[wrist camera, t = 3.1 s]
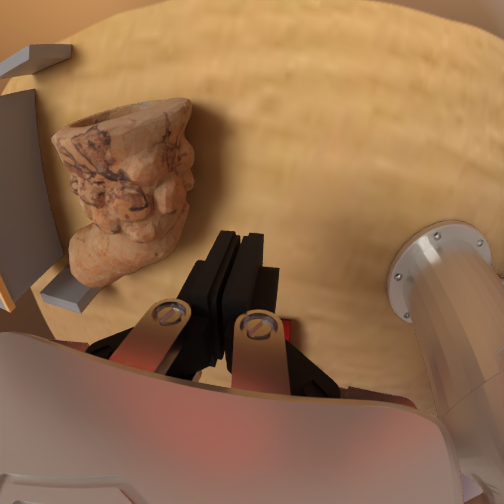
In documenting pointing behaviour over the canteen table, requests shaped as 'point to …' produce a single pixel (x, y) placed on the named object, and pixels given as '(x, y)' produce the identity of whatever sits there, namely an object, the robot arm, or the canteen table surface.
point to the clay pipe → (128, 186)
